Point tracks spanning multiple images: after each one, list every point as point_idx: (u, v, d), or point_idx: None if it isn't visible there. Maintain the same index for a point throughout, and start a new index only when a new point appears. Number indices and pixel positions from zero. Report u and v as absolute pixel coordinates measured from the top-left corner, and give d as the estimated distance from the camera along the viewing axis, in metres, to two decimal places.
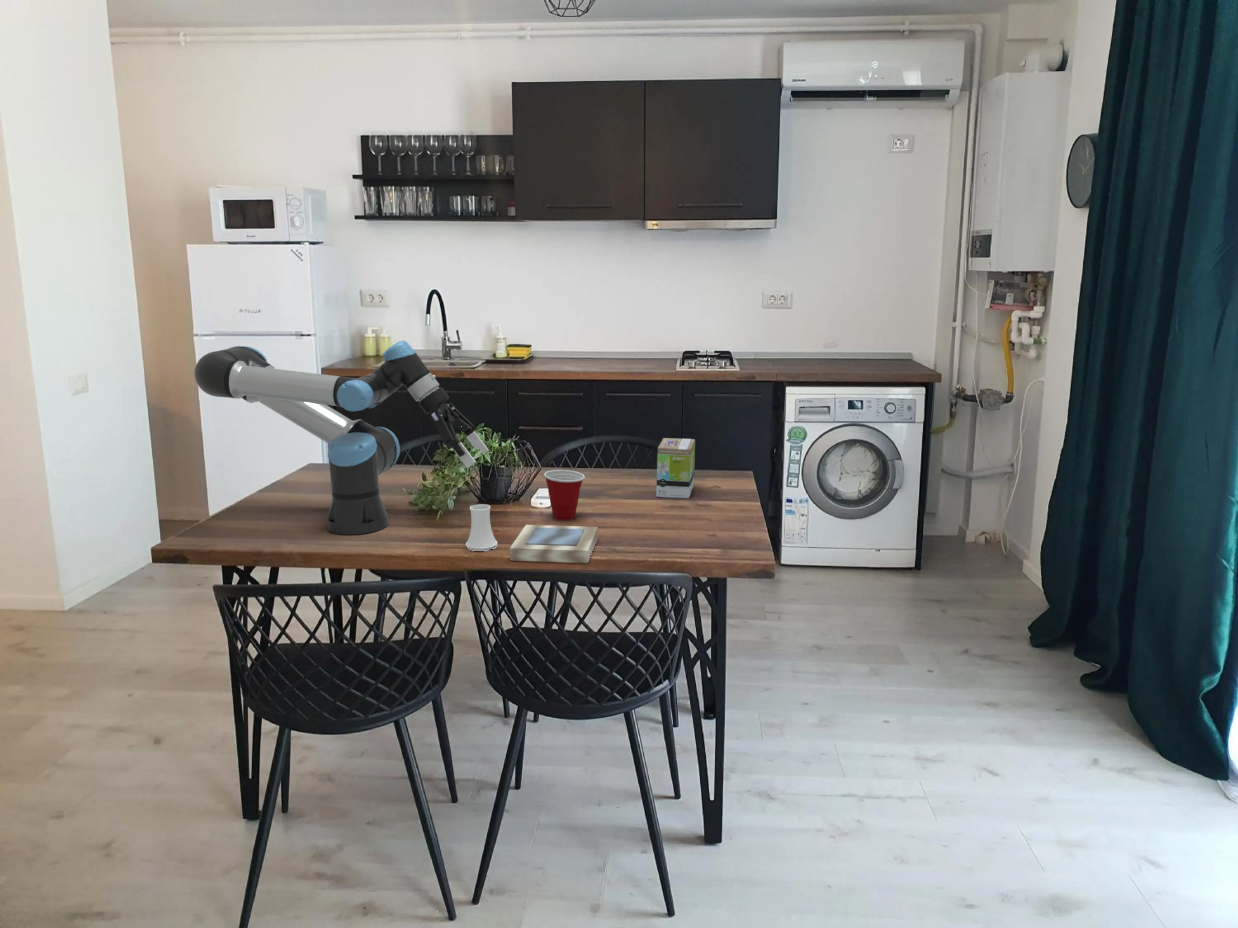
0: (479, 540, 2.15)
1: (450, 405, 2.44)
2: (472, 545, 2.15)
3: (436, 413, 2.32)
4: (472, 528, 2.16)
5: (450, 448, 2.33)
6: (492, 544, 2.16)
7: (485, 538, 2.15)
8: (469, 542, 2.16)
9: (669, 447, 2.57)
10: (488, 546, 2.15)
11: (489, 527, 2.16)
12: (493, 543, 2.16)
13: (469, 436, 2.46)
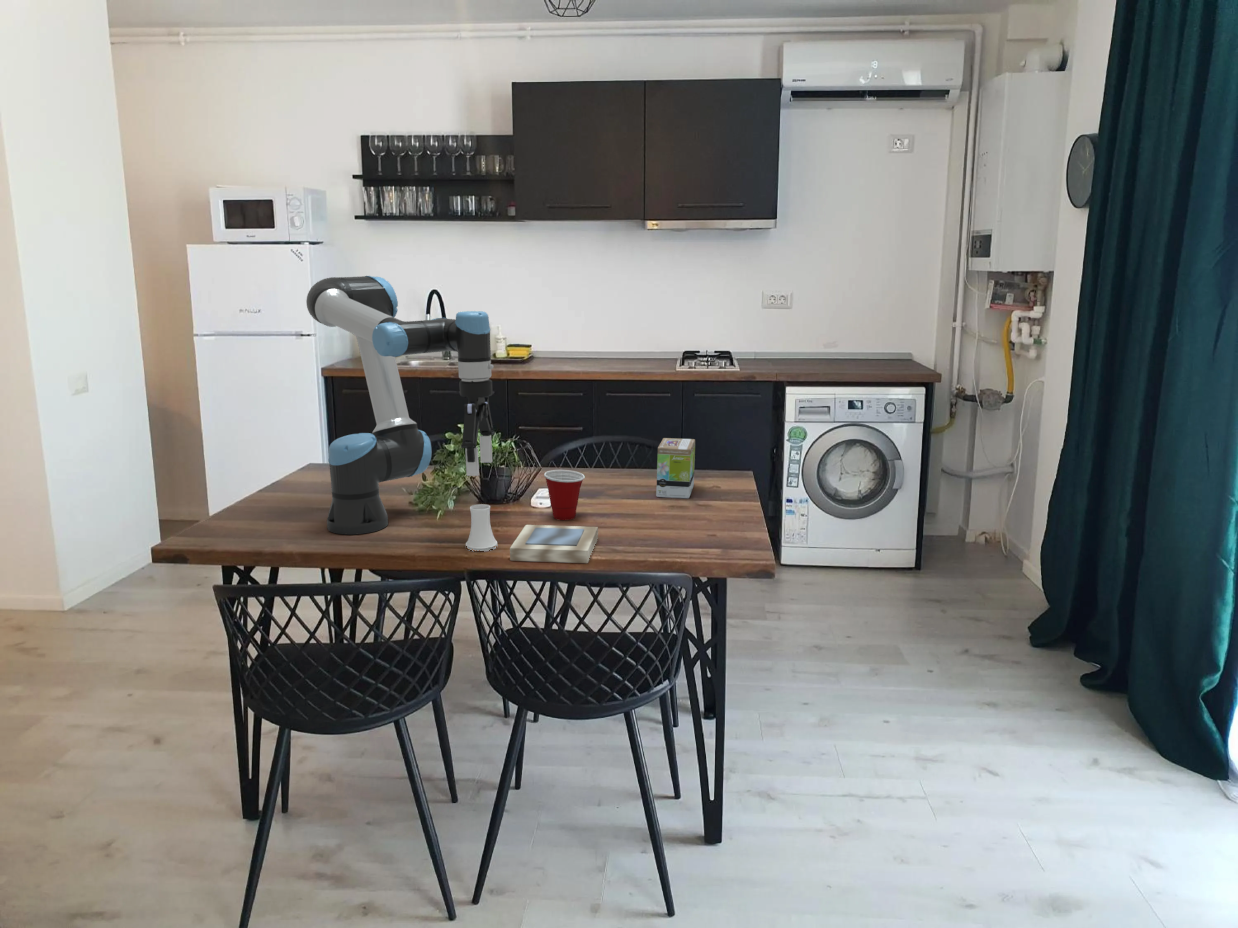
0: (479, 540, 2.15)
1: (485, 398, 2.16)
2: (472, 545, 2.15)
3: (473, 406, 2.04)
4: (472, 528, 2.16)
5: (464, 447, 2.05)
6: (492, 544, 2.16)
7: (485, 538, 2.15)
8: (469, 542, 2.16)
9: (669, 447, 2.57)
10: (488, 546, 2.15)
11: (489, 527, 2.16)
12: (493, 543, 2.16)
13: (483, 437, 2.19)
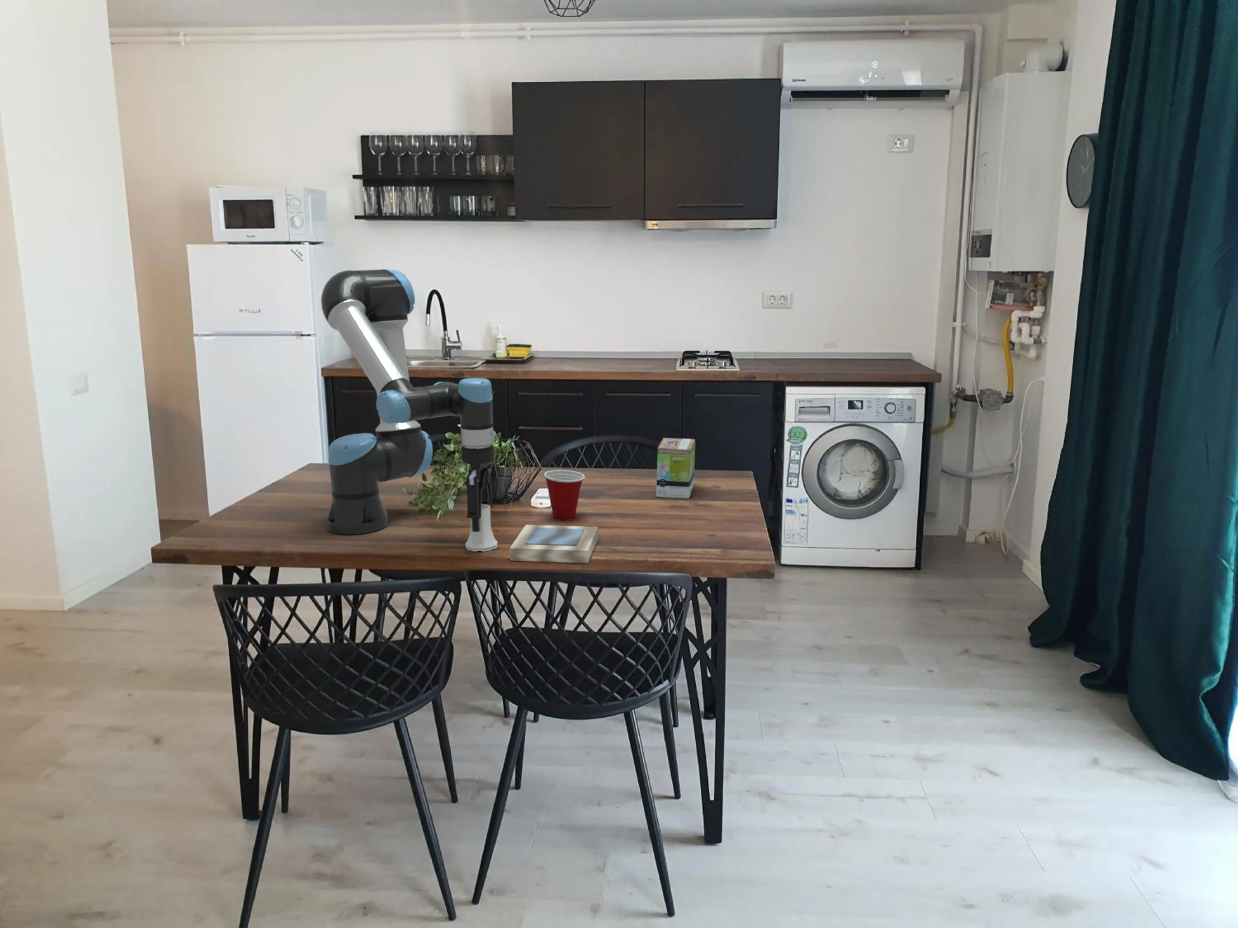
0: None
1: (488, 465, 2.19)
2: (472, 545, 2.15)
3: (475, 479, 2.07)
4: None
5: (469, 517, 2.12)
6: (492, 544, 2.16)
7: (485, 538, 2.15)
8: (469, 542, 2.16)
9: (669, 447, 2.57)
10: (488, 546, 2.15)
11: (489, 527, 2.16)
12: (493, 543, 2.16)
13: None
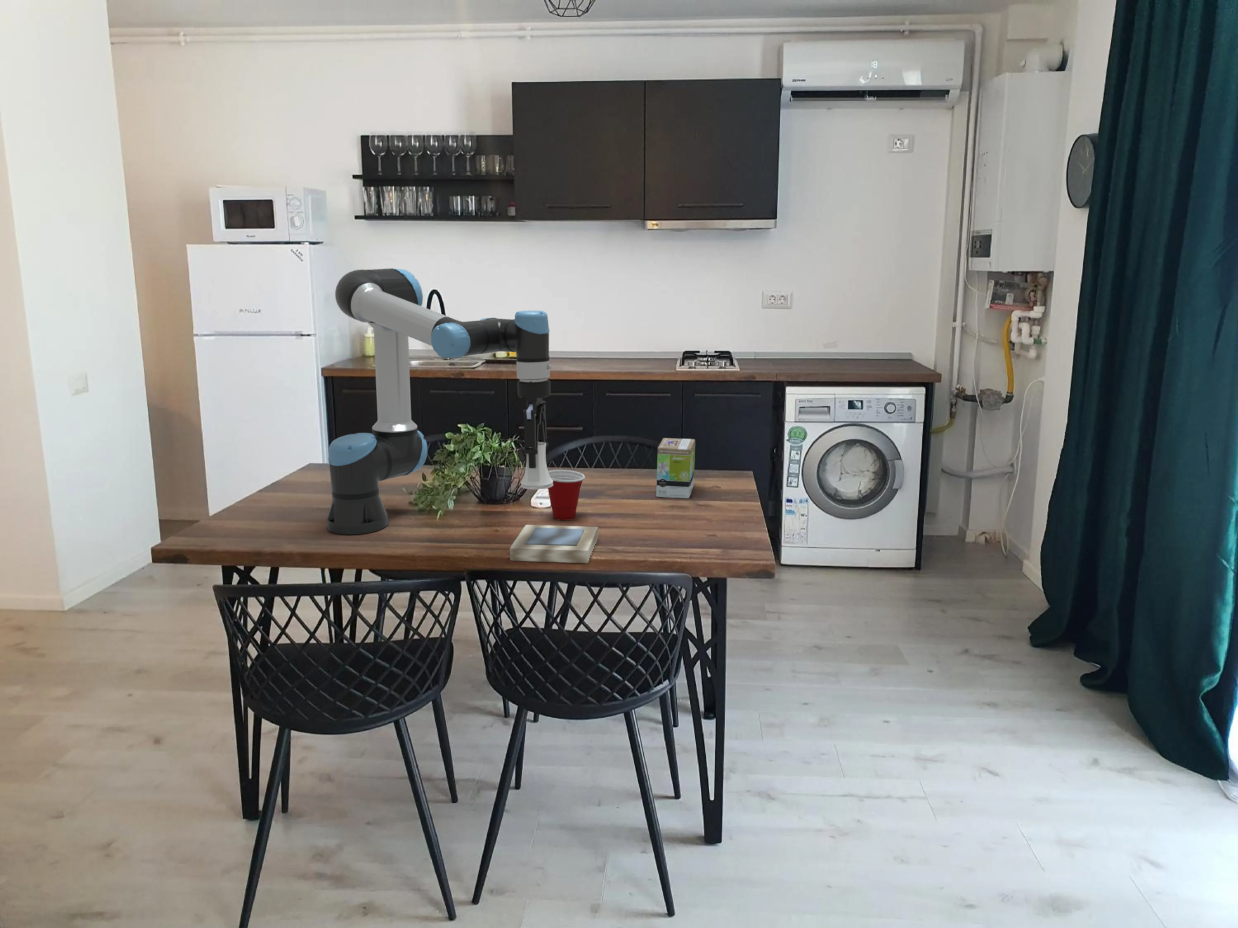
0: None
1: (543, 403, 2.14)
2: (528, 483, 2.10)
3: (532, 413, 2.02)
4: None
5: None
6: (548, 482, 2.11)
7: (541, 475, 2.10)
8: (524, 480, 2.10)
9: (669, 447, 2.57)
10: (544, 484, 2.10)
11: (545, 465, 2.11)
12: (549, 481, 2.11)
13: None
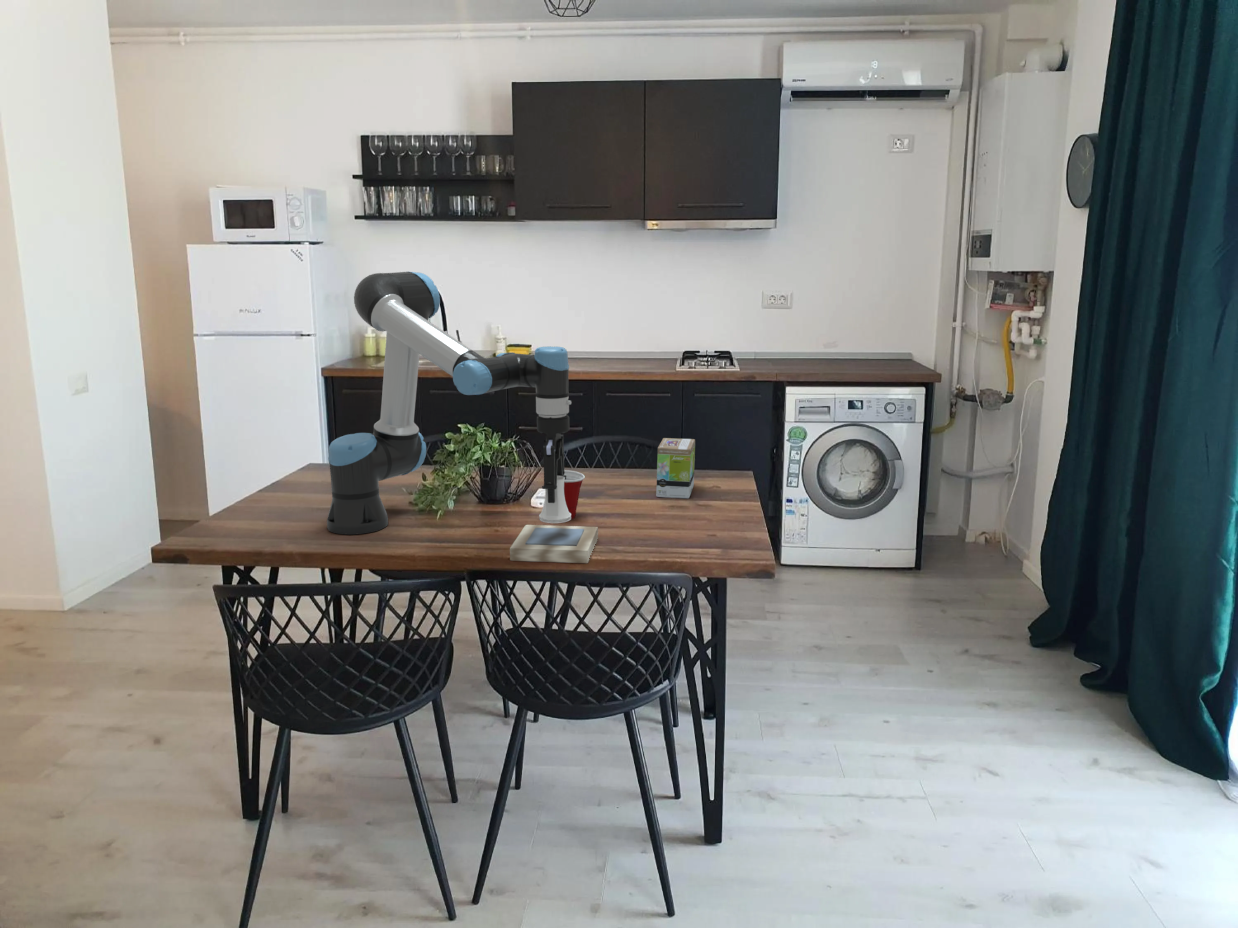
0: None
1: (561, 436, 2.15)
2: (546, 517, 2.11)
3: (552, 449, 2.04)
4: None
5: (545, 488, 2.08)
6: (566, 516, 2.12)
7: (560, 509, 2.11)
8: (543, 514, 2.12)
9: (669, 447, 2.57)
10: (563, 518, 2.11)
11: (563, 498, 2.12)
12: (567, 515, 2.13)
13: None
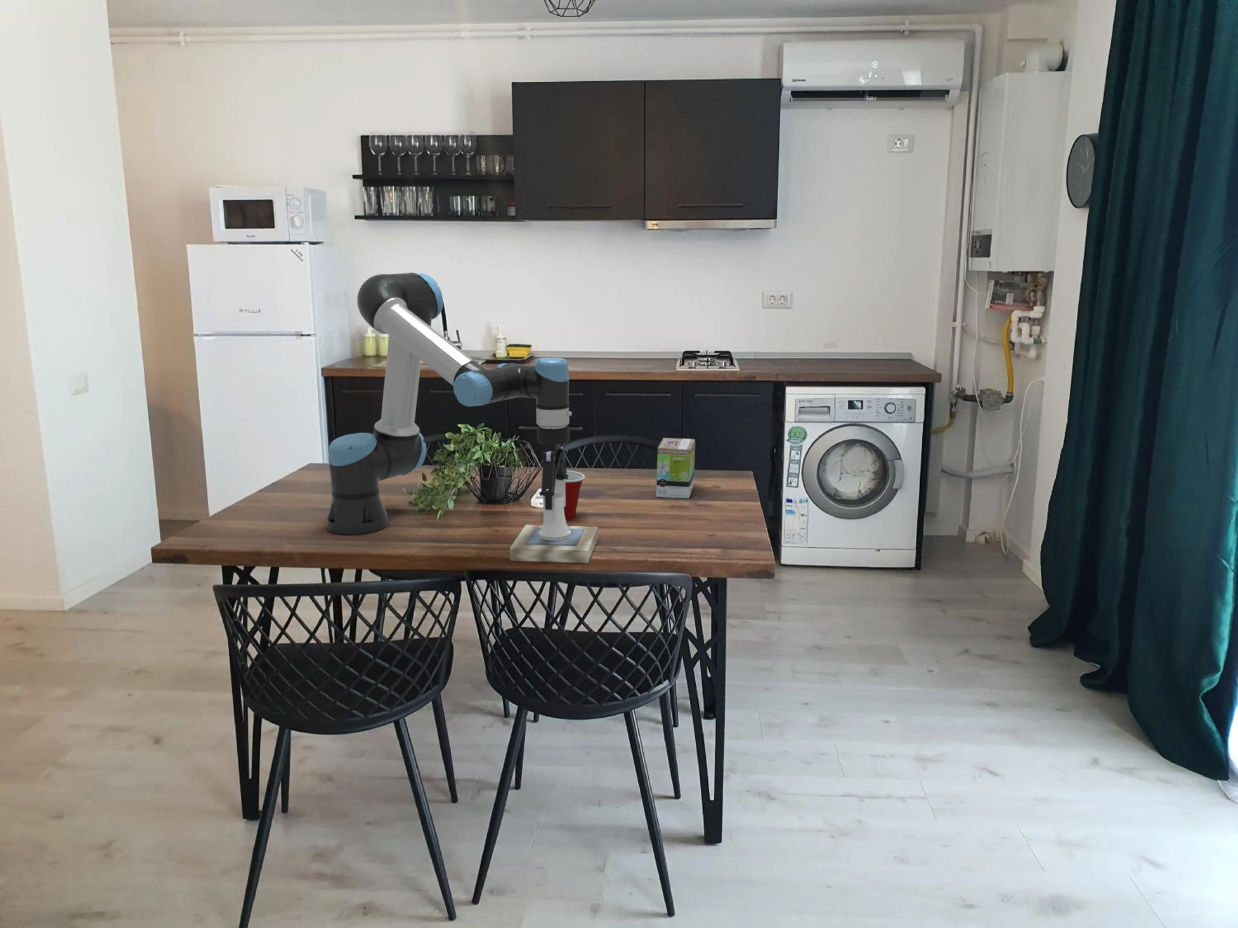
0: (554, 529, 2.12)
1: None
2: (546, 534, 2.12)
3: (552, 454, 2.04)
4: None
5: (542, 495, 2.05)
6: (566, 533, 2.13)
7: (559, 527, 2.12)
8: (543, 531, 2.13)
9: (669, 447, 2.57)
10: (562, 535, 2.12)
11: (563, 516, 2.14)
12: (567, 532, 2.14)
13: (557, 481, 2.19)
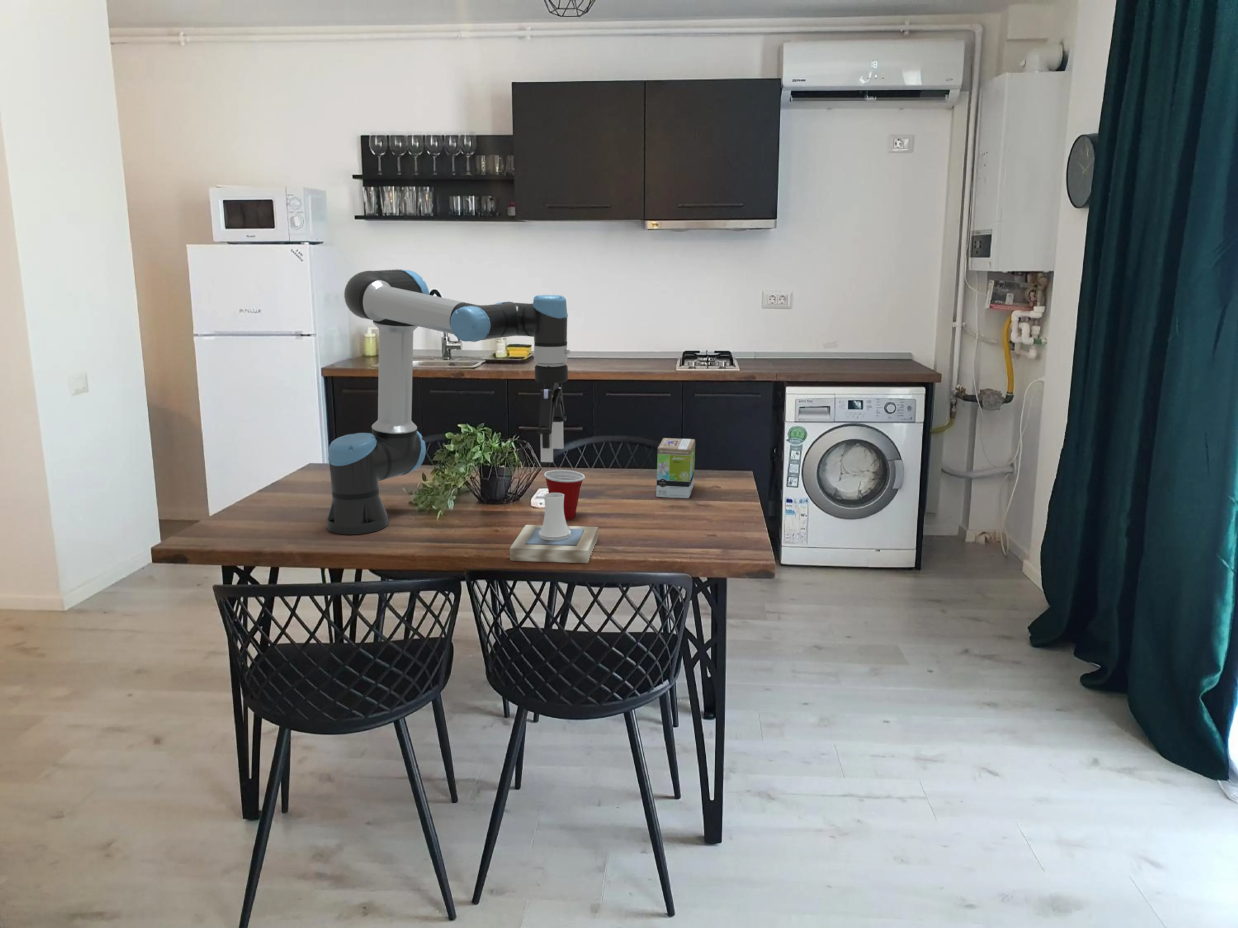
0: (554, 529, 2.12)
1: (559, 384, 2.13)
2: (546, 534, 2.12)
3: (549, 392, 2.01)
4: (546, 517, 2.13)
5: (539, 433, 2.03)
6: (566, 533, 2.13)
7: (559, 527, 2.12)
8: (543, 531, 2.13)
9: (669, 447, 2.57)
10: (562, 535, 2.12)
11: (563, 516, 2.14)
12: (567, 532, 2.14)
13: (555, 423, 2.16)
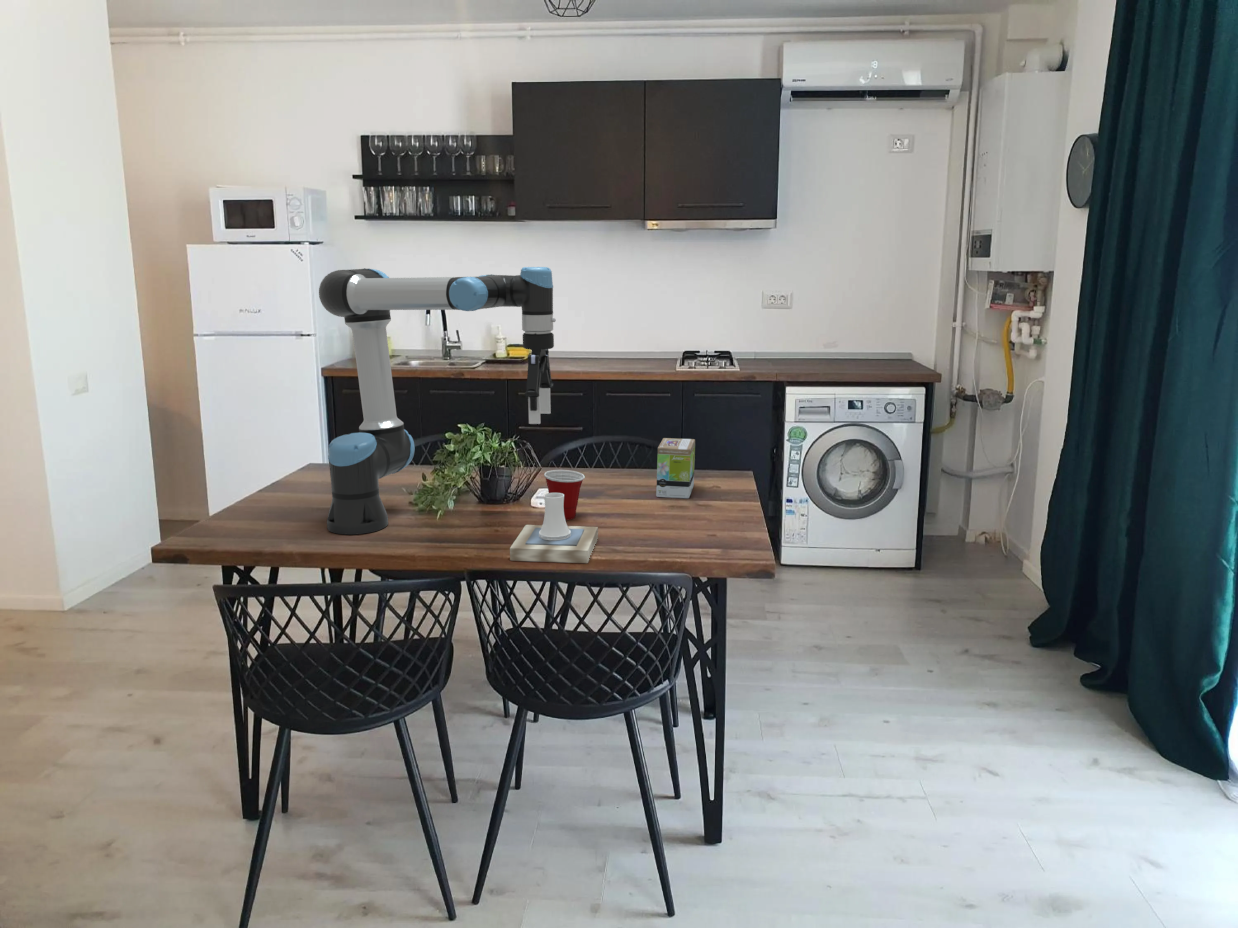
0: (553, 529, 2.12)
1: (546, 351, 2.26)
2: (546, 534, 2.12)
3: (536, 357, 2.14)
4: (546, 516, 2.13)
5: None
6: (566, 533, 2.13)
7: (559, 527, 2.12)
8: (543, 531, 2.13)
9: (669, 447, 2.57)
10: (562, 535, 2.12)
11: (563, 516, 2.14)
12: (567, 532, 2.14)
13: (542, 389, 2.29)
